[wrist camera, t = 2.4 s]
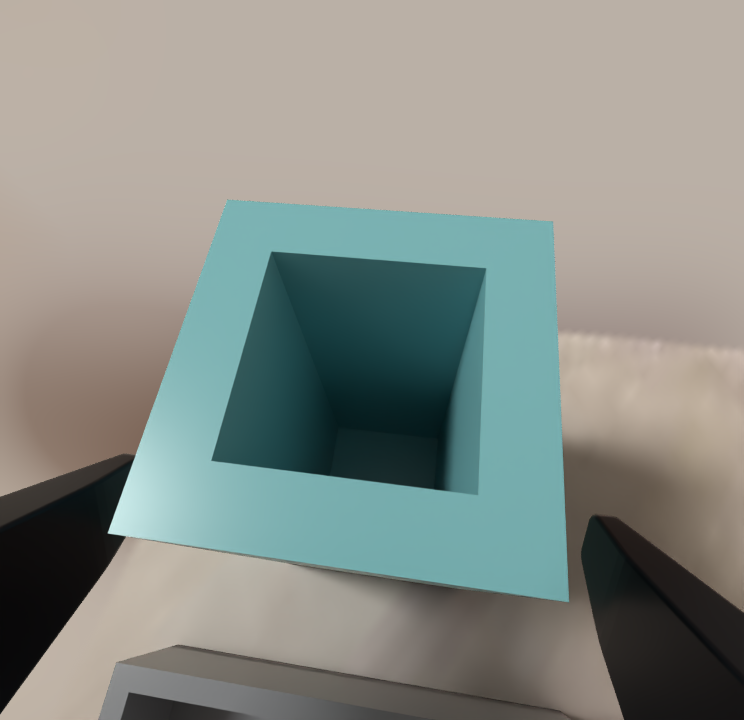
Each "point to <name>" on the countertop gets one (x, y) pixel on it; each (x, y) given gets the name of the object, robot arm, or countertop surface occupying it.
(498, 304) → the teal square planter
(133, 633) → the countertop surface
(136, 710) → the gray square tray
